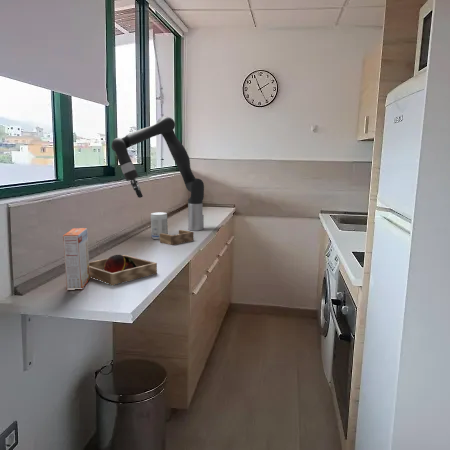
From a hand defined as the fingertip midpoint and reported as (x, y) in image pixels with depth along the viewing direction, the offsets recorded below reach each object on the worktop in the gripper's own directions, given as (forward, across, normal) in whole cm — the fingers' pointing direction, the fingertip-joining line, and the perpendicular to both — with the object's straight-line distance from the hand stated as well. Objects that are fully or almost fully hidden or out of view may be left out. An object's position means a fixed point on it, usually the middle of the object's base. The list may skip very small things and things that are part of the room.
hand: (140, 197), depth 254 cm
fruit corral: (+30, -76, +15) cm, 83 cm away
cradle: (+31, -12, -9) cm, 35 cm away
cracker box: (+27, -89, +28) cm, 97 cm away
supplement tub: (+27, -2, -1) cm, 27 cm away
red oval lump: (+30, -75, +15) cm, 83 cm away
